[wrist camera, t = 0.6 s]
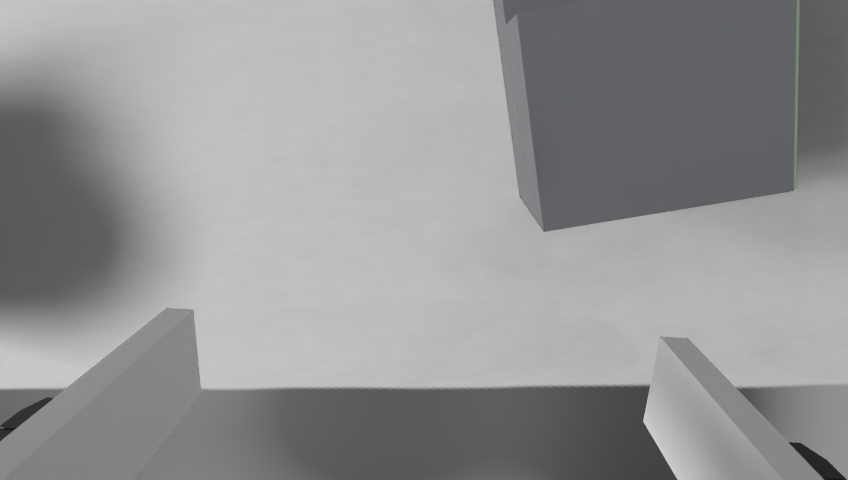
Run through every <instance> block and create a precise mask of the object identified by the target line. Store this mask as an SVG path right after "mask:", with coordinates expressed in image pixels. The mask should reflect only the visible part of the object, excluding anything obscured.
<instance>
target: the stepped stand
mask: <svg viewBox="0 0 848 480" xmlns="http://www.w3.org/2000/svg"><path fill="white" fill-rule="evenodd" d="M493 1H494V9H495V16H496V24H497V31H498V38H499V46H500V53H501V61H502V68H503V75H504V83H505V90H506V98H507V105H508V113H509V120H510V127H511V135H512V142H513V150H514V157H515V165H516V172H517V179H518V187H519V194H520V198H521V199H522V201H523V202H524V204H525V205H526V207H527V208H528V210H529V211H530V212H531V214H532V215H533V217H534V218H535V220H536V221H537V223H538V224H539V226H540V227H541V229H542V230H543V231H544V232H545V231H551V230H558V229H564V228H570V227H576V226H582V225H588V224H594V223H600V222H606V221H612V220H619V219H625V218H631V217H637V216H643V215H649V214H655V213H661V212H667V211H673V210H680V209H686V208H692V207H698V206H704V205H710V204H716V203H722V202H728V201H734V200H741V199H747V198H753V197H759V196H765V195H771V194H777V193H783V192H789V191H794V189H795V188H796V185H797V129H798V74H799V18H800V0H493Z"/></svg>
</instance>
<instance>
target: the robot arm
mask: <svg viewBox="0 0 848 480" xmlns="http://www.w3.org/2000/svg"><path fill="white" fill-rule="evenodd" d="M200 395H201V386H200V375H199V365H198V354H197V343H196V333H195V322H194V311H193V310H191V309H173V308H166V309H165V310H164V311H163V312H161V313H160V314H159V315H158V316H156V317H155V318H154V319H153V320H151V321H150V322H149V323H148V324H146V325H145V326H144V327H142V328H141V329H140V330H139V331H137V332H136V333H135V334H134V335H132V336H131V337H130V338H129V339H127V340H126V341H125V342H124V343H122V344H121V345H120V346H119V347H117V348H116V349H115V350H114V351H112V352H111V353H110V354H109V355H107V356H106V357H105V358H104V359H102V360H101V361H100V362H99V363H97V364H96V365H95V366H94V367H92V368H91V369H90V370H89V371H87V372H86V373H85V374H84V375H82V376H81V377H80V378H79V379H77V380H76V381H75V382H74V383H72V384H71V385H70V386H69V387H67V388H66V389H65V390H64V391H62V392H61V393H60V394H59V395H58V396H56V397H55V398H45V399H43V400H41V401H39V402H37V403H35V404H33V405H31V406H29V407H27V408H25V409H23V410H21V411H19V412H18V413H16V414H15V415H14V416H13V417H11V418H10V419H9V420H7V421H6V422H5V423H3V424H2V425H1V426H0V480H134V479H135V477H136V476H137V475H138V474H139V472H140V471H141V470H142V468H143V467H144V466H145V465H146V463H147V462H148V461H149V460H150V458H151V457H152V456H153V455H154V453H155V452H156V451H157V449H158V448H159V447H160V446H161V444H162V443H163V442H164V441H165V439H166V438H167V437H168V436H169V434H170V433H171V432H172V430H173V429H174V428H175V427H176V425H177V424H178V423H179V422H180V420H181V419H182V418H183V417H184V415H185V414H186V413H187V411H188V410H189V409H190V408H191V406H192V405H193V404H194V403H195V401H196V400H197V399H198V398H199V396H200ZM643 422H644V423H645V425H646V427H647V428H648V430H649V432H650V433H651V435H652V437H653V438H654V440H655V442H656V444H657V445H658V447H659V449H660V450H661V452H662V454H663V455H664V457H665V459H666V461H667V462H668V464H669V466H670V467H671V469H672V471H673V472H674V474H675V476H676V478H677V479H678V480H846V479H845V477H844V476H842V475H841V474H840V473H839V472H838V471H837V470H836V469H835V468H834V467H833V466H832V465H831V464H830V463H829V462H828V461H827V460H826V459H824V458H823V457H821V456H819V455H818V454H817V453H815V452H813V451H812V450H810V449H809V448H807V447H806V446H804V445H803V444H801V443H792V442H791V443H790V442H787V441H786V440H785V439H784V438H783V436H782V435H781V434H780V433H779V432H778V431H776V429H775V428H774V427H773V426H772V425H771V424H770V423H769V422H768V421H767V420H766V419H765V418H764V417H763V416H762V415H761V414H760V413H759V412H758V411H757V409H756V408H755V407H754V406H753V405H752V404H751V403H750V402H749V401H748V400H747V399H746V398H745V397H744V396H743V395H742V394H741V393H740V392H739V391H738V390H737V389H736V388H735V387H734V386H733V385H732V384H731V382H730V381H729V380H728V379H727V378H726V377H725V376H724V375H723V374H722V373H721V372H720V371H719V370H718V369H717V368H716V367H715V366H714V365H713V364H712V363H711V362H710V361H709V360H708V359H707V358H706V357H705V356H704V354H703V353H702V352H701V351H700V350H699V349H698V348H697V347H696V346H695V345H694V344H693V343H692V342H691V341H690V340H689V339H688V338H673V337H660V340H659V345H658V350H657V355H656V360H655V365H654V370H653V375H652V380H651V385H650V390H649V395H648V400H647V405H646V411H645V416H644V420H643Z"/></svg>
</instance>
